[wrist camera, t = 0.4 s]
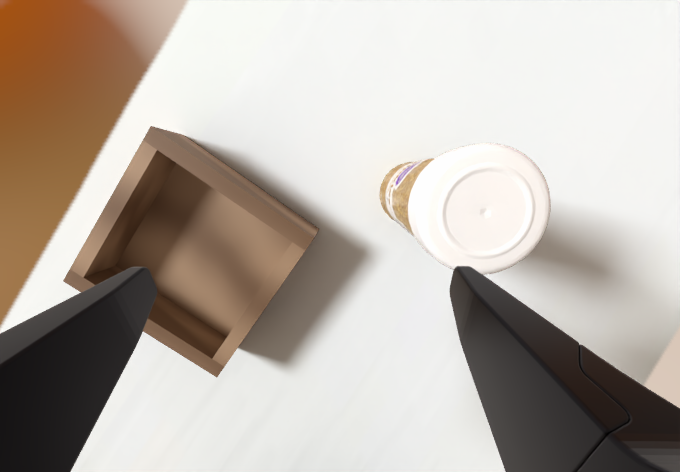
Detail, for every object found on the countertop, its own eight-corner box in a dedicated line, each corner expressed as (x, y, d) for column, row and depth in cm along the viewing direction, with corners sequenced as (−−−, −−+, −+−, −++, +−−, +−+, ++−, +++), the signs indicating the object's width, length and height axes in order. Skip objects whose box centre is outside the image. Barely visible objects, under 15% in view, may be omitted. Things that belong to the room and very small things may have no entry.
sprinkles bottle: (398, 151, 23) (465, 114, 10) (452, 181, 24) (585, 184, 10) (367, 206, 24) (392, 238, 11) (419, 235, 24) (506, 301, 11)
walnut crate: (236, 347, 26) (216, 377, 22) (107, 265, 25) (63, 281, 21) (319, 229, 24) (313, 238, 21) (183, 135, 24) (150, 126, 20)
